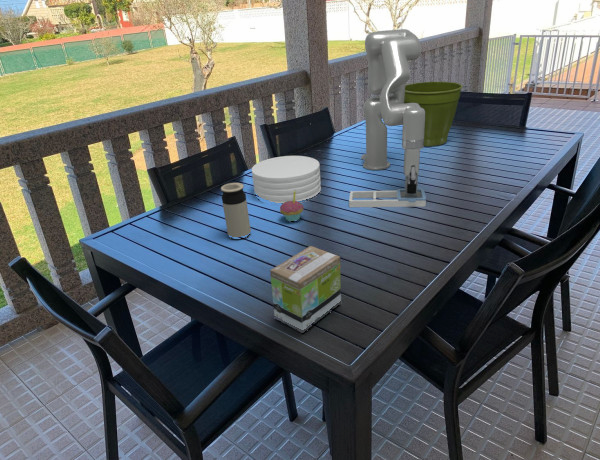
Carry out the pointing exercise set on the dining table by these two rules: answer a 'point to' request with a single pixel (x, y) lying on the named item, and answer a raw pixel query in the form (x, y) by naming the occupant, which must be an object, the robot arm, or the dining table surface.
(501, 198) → the dining table surface
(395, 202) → the white ladder frame
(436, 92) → the plant pot
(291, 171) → the plate stack
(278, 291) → the tea box
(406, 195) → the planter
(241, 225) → the travel mug
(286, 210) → the cupcake
